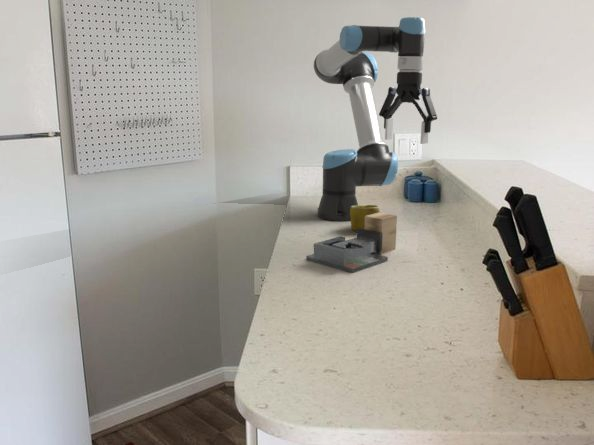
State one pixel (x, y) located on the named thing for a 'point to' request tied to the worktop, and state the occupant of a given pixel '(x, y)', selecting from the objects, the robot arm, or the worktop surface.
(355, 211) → the mug
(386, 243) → the block
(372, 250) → the grey blocky piece
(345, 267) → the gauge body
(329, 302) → the worktop surface
